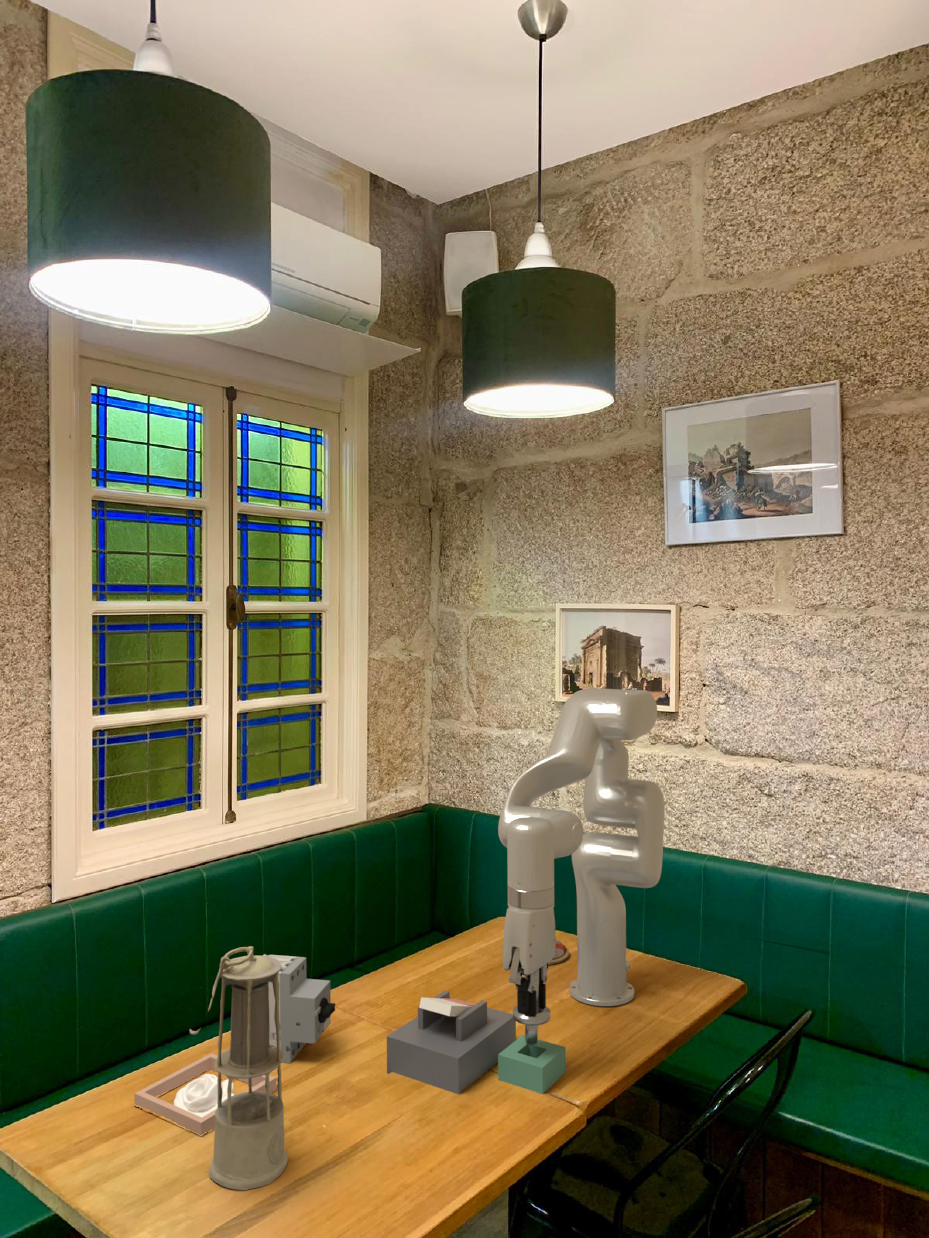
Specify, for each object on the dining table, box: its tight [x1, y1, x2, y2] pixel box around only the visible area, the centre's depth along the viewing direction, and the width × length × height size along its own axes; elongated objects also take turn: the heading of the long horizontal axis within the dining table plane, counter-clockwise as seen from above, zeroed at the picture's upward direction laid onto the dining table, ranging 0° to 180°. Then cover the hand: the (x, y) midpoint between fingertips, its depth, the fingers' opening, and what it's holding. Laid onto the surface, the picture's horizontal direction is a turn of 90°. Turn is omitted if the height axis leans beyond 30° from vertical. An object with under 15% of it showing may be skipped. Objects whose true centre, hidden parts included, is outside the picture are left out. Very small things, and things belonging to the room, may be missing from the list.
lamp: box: [189, 945, 288, 1191], centre depth 120 cm, size 10×13×30 cm
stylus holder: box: [497, 1034, 567, 1095], centre depth 144 cm, size 8×8×4 cm
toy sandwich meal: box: [549, 940, 570, 966], centre depth 196 cm, size 12×14×5 cm
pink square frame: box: [134, 1052, 277, 1135], centre depth 139 cm, size 15×15×2 cm
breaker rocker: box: [418, 996, 477, 1016], centre depth 150 cm, size 11×6×2 cm, turn 147°
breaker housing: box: [386, 990, 517, 1095], centre depth 150 cm, size 18×14×10 cm
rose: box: [173, 1073, 235, 1117], centre depth 136 cm, size 10×4×10 cm
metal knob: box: [512, 969, 551, 1045], centre depth 144 cm, size 6×6×12 cm
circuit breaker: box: [262, 953, 336, 1065], centre depth 153 cm, size 8×14×15 cm, turn 78°
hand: (531, 1009), depth 144 cm, fingers closed on metal knob
